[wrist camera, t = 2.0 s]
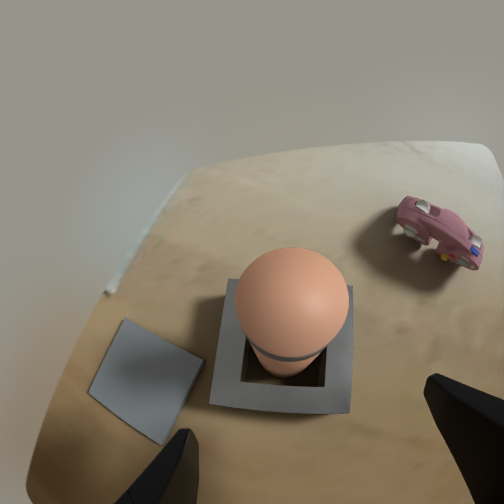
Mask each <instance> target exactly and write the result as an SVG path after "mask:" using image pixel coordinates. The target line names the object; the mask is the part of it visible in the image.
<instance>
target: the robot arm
mask: <svg viewBox="0 0 504 504" xmlns="http://www.w3.org/2000/svg"><path fill="white" fill-rule="evenodd" d="M424 397H425V399H426V401H427V404H428V406H429V409H430V411H431V413H432V416H433V418H434V421H435V423H436V425H437V427H438V429H439V431H440V433H441V434H442V436H443V438H444V440H445V442H446V444H447V446H448V448H449V449H450V451H451V453H452V455H453V457H454V459H455V461H456V463H457V465H458V467H459V469H460V471H461V473H462V476H463V478H464V480H465V482H466V484H467V486H468V488H469V491H470V493H471V496H472V498H473V500H474V502H475V504H504V400H503V399H500V398H498V397H495V396H493V395H490V394H487V393H485V392H482V391H480V390H477V389H475V388H472V387H470V386H467V385H465V384H462V383H460V382H458V381H455V380H453V379H450V378H448V377H446V376H443V375H441V374H438V373H435V374H433V375H431V376H429V377H428V378H427V381H426V384H425V388H424ZM198 485H199V446H198V441H197V439H196V437H195V435H194V433H193V432H192V430H191V429H189V428H185V429H179V430H178V431H177V432H176V434H175V435H174V436H173V437H172V438H171V440H170V441H169V442H168V443H167V444H166V446H165V447H164V448H163V449H162V450H161V452H160V453H159V454H158V455H157V456H156V458H155V459H154V460H153V461H152V462H151V463H150V465H149V466H148V467H147V468H146V469H145V470H144V471H143V473H142V474H141V475H140V476H139V477H138V478H137V479H136V480H135V482H134V483H133V484H132V485H131V486H130V487H129V488H128V490H126V491H125V493H124V494H123V495H122V496H121V497H120V498H119V499H118V500H117V501H116V502H115V503H114V504H196V503H197V493H198Z"/></svg>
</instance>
